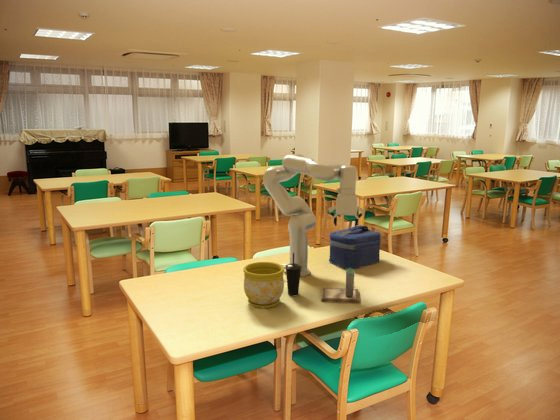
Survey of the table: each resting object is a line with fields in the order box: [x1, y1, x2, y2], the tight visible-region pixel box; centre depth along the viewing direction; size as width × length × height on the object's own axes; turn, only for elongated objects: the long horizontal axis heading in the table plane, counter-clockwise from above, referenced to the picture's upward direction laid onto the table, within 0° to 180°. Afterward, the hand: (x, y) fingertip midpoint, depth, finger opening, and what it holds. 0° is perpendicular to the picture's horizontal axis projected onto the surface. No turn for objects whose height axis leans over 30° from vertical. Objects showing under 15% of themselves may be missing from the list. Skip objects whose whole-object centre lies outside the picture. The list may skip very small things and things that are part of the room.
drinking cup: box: [285, 253, 302, 297], centre depth 205 cm, size 8×8×20 cm
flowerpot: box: [242, 261, 285, 309], centre depth 195 cm, size 18×18×16 cm
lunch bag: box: [328, 225, 382, 270], centre depth 253 cm, size 31×21×20 cm
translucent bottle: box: [345, 268, 356, 298], centre depth 199 cm, size 4×4×13 cm
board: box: [321, 287, 361, 304], centre depth 204 cm, size 17×14×2 cm
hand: (345, 226), depth 214 cm, fingers open, 9 cm apart
